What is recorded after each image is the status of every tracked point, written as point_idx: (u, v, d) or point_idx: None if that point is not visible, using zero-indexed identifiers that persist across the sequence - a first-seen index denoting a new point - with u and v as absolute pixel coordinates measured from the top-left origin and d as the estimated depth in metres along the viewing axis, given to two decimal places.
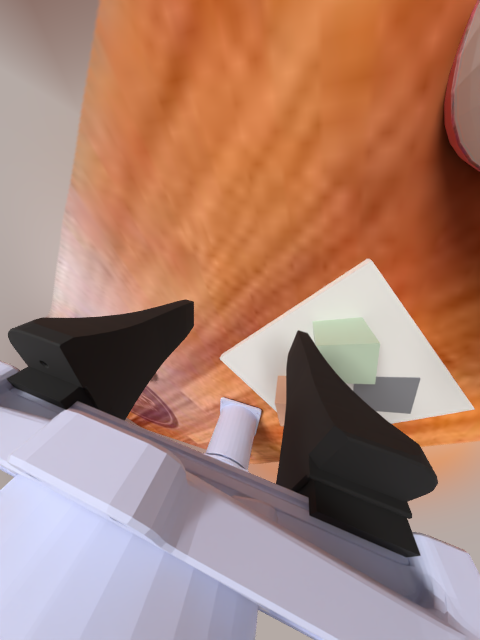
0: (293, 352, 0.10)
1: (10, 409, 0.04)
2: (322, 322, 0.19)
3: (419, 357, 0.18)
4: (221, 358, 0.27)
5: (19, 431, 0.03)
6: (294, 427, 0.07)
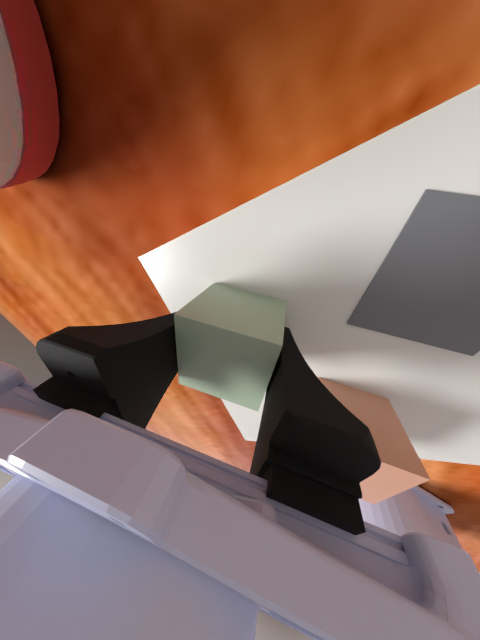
0: None
1: (10, 409, 0.04)
2: None
3: (340, 193, 0.07)
4: (245, 438, 0.20)
5: (19, 431, 0.03)
6: (266, 417, 0.07)
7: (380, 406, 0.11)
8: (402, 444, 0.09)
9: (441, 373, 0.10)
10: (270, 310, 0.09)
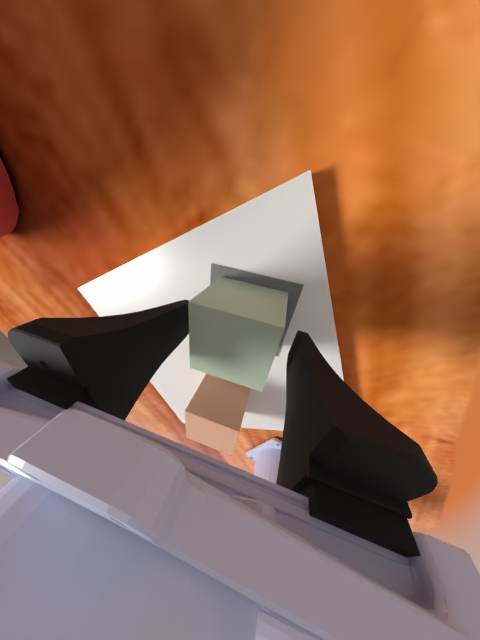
0: (293, 352, 0.10)
1: (10, 409, 0.04)
2: None
3: (174, 261, 0.13)
4: (182, 421, 0.25)
5: (19, 431, 0.03)
6: (294, 427, 0.07)
7: (240, 390, 0.17)
8: (237, 413, 0.15)
9: None
10: (273, 300, 0.10)
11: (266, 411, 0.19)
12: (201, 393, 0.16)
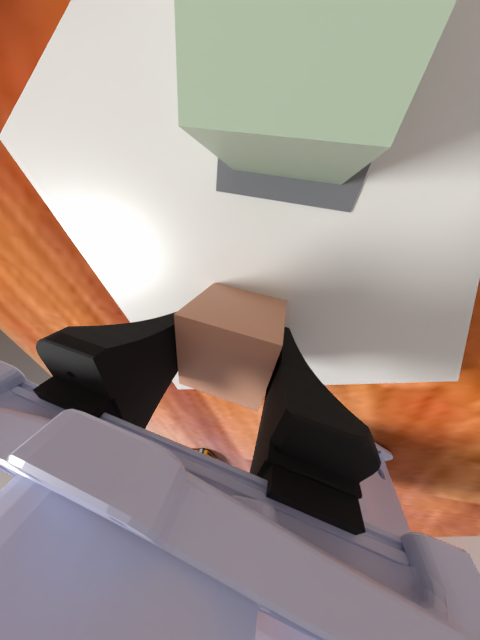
0: None
1: (10, 409, 0.04)
2: None
3: None
4: (177, 387, 0.19)
5: (19, 431, 0.03)
6: (266, 417, 0.07)
7: (271, 303, 0.10)
8: (271, 324, 0.08)
9: (327, 249, 0.09)
10: None
11: (307, 350, 0.12)
12: (205, 299, 0.09)
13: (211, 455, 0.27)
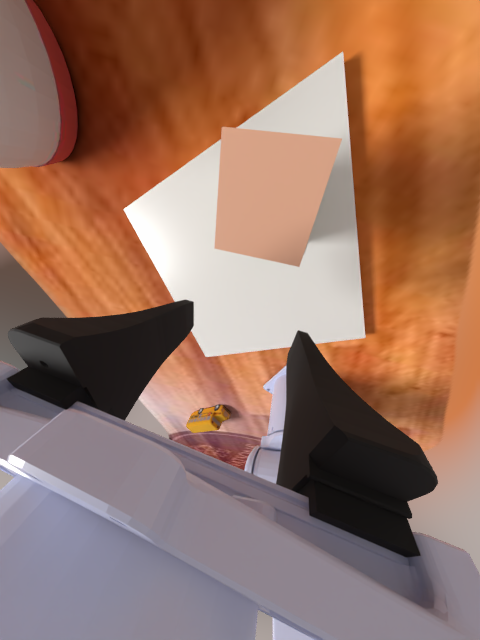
0: (293, 352, 0.10)
1: (10, 409, 0.04)
2: None
3: (218, 163, 0.15)
4: (206, 355, 0.28)
5: (19, 431, 0.03)
6: (294, 427, 0.07)
7: None
8: None
9: (294, 270, 0.18)
10: None
11: (288, 324, 0.21)
12: None
13: (225, 409, 0.35)
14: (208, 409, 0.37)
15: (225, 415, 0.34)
